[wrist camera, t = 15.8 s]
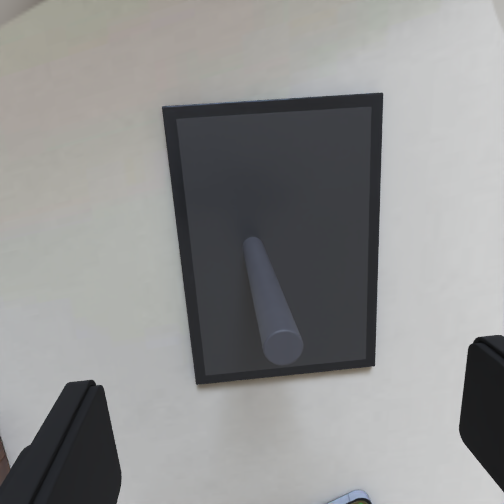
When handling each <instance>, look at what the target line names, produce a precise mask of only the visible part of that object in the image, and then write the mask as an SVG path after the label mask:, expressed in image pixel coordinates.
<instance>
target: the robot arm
mask: <svg viewBox="0 0 504 504" xmlns="http://www.w3.org/2000/svg"><path fill="white" fill-rule="evenodd" d="M459 432H460V436H461V438H462V440H463V442H464V444H465V445H466V446H467V447H468V449H469V450H470V451H471V452H472V454H473V455H474V456H475V457H476V459H477V460H478V461H479V462H480V463H481V465H482V466H483V467H484V468H485V470H486V471H487V472H488V473H489V475H490V476H491V477H492V478H493V479H494V481H495V482H496V483H497V484H498V486H499V487H500V488H501V489H502V491H503V492H504V336H502V335H494V336H485V337H478V338H476V339H475V340H474V342H473V344H471V345H470V346H469V348H468V355H467V364H466V372H465V381H464V389H463V398H462V407H461V415H460V424H459ZM120 487H121V469H120V464H119V459H118V454H117V449H116V445H115V440H114V435H113V430H112V425H111V421H110V416H109V411H108V406H107V401H106V397H105V392H104V388H103V386H102V385H97V386H96V383H95V382H94V381H93V380H86V381H77V382H69V383H67V384H66V386H65V387H64V389H63V391H62V392H61V394H60V396H59V397H58V399H57V401H56V402H55V404H54V406H53V408H52V409H51V411H50V413H49V414H48V416H47V418H46V419H45V421H44V423H43V425H42V426H41V428H40V430H39V431H38V433H37V435H36V436H35V438H34V440H33V442H32V443H31V445H29V446H27V447H26V448H24V449H23V451H22V452H21V453H20V455H19V456H18V458H17V460H16V461H15V463H14V464H13V466H12V468H11V469H10V471H9V473H8V474H7V476H6V478H5V479H4V481H3V483H2V484H1V486H0V504H116V503H117V499H118V496H119V492H120Z"/></svg>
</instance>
